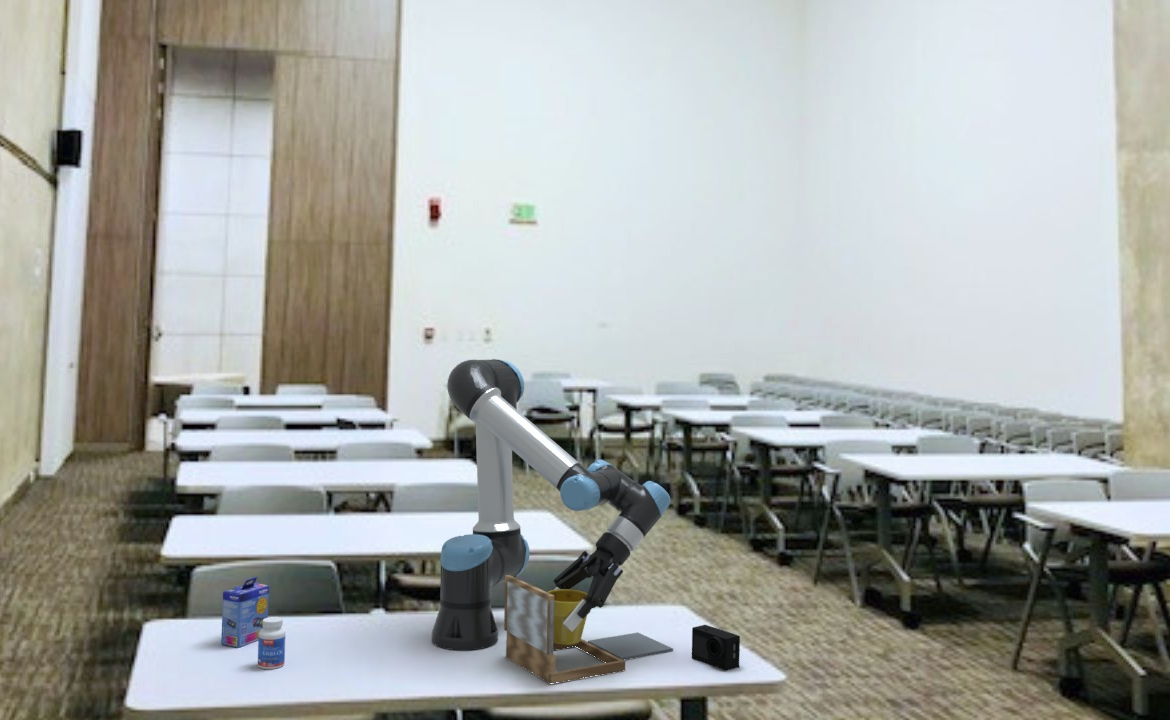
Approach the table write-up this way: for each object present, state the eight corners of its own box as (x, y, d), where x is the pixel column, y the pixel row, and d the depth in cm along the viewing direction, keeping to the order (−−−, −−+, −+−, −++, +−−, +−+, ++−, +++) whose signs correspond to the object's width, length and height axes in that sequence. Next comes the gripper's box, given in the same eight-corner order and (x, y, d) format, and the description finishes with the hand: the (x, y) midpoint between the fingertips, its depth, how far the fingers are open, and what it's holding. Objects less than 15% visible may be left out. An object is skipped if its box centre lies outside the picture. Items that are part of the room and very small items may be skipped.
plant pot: (589, 649, 205) (591, 602, 205) (540, 646, 205) (541, 600, 205) (590, 634, 215) (591, 589, 215) (543, 632, 215) (544, 587, 215)
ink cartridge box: (239, 648, 216) (240, 583, 216) (219, 645, 218) (220, 580, 218) (269, 636, 225) (270, 574, 225) (250, 633, 227) (251, 571, 227)
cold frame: (503, 657, 214) (505, 575, 213) (576, 645, 223) (578, 566, 223) (548, 685, 197) (550, 596, 196) (625, 670, 206) (626, 585, 206)
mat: (587, 643, 225) (587, 640, 225) (637, 634, 232) (637, 632, 232) (621, 660, 213) (621, 657, 213) (673, 651, 220) (673, 648, 220)
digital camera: (687, 659, 215) (687, 627, 215) (704, 655, 218) (705, 623, 218) (721, 672, 207) (722, 639, 207) (739, 667, 210) (739, 635, 210)
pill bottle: (259, 671, 202) (260, 624, 202) (255, 663, 206) (256, 617, 206) (287, 667, 204) (287, 621, 204) (282, 660, 209) (283, 614, 209)
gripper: (658, 564, 208) (592, 647, 200) (600, 542, 227) (539, 617, 220) (638, 541, 205) (571, 624, 197) (582, 521, 224) (519, 596, 217)
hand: (554, 620), depth 208 cm, fingers closed on plant pot, 10 cm apart
